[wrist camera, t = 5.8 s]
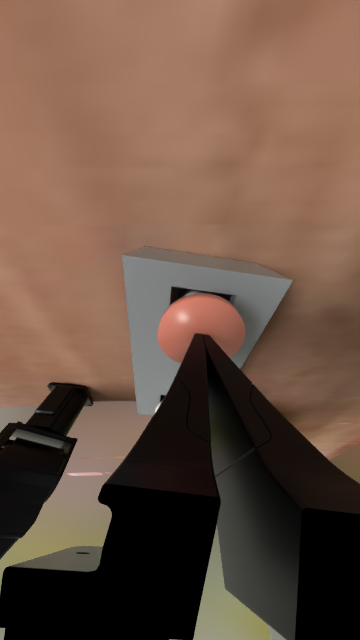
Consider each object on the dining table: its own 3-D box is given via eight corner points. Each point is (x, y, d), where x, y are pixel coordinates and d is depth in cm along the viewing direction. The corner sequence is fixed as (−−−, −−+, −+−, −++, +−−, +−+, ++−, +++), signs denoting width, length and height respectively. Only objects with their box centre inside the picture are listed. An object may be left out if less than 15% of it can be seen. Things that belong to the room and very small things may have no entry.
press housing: (204, 386, 23) (209, 421, 19) (146, 380, 23) (137, 413, 19) (256, 263, 12) (293, 280, 8) (144, 246, 12) (122, 254, 8)
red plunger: (215, 327, 14) (228, 370, 9) (165, 320, 13) (156, 362, 9) (232, 277, 11) (261, 307, 7) (169, 268, 11) (159, 293, 6)
